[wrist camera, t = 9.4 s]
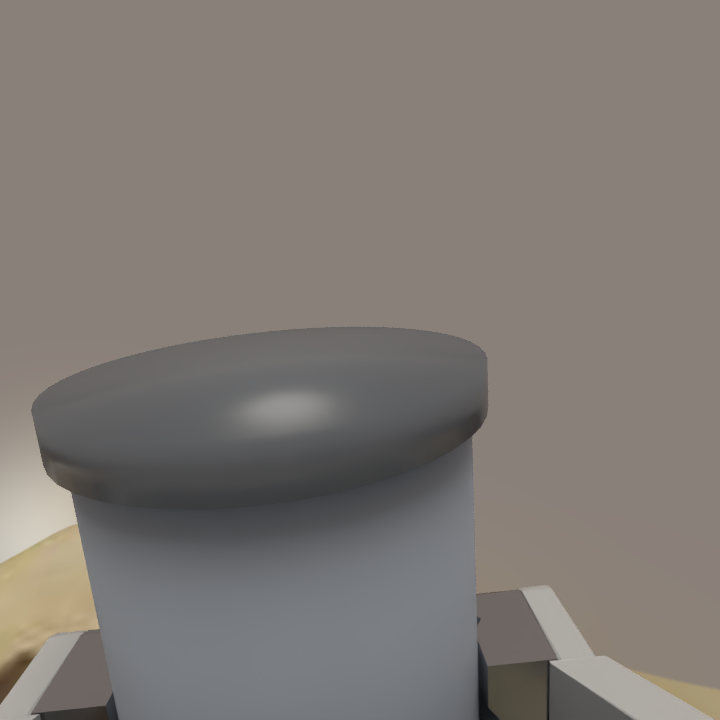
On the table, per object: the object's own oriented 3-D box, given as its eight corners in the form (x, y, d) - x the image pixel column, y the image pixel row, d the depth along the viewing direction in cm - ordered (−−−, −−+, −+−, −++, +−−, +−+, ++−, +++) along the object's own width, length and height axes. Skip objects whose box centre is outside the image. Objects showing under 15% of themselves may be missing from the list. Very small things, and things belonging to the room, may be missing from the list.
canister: (126, 1293, 7) (-113, 467, 4) (217, 825, 12) (136, 341, 9) (555, 1233, 7) (569, 410, 4) (457, 798, 12) (438, 318, 10)
